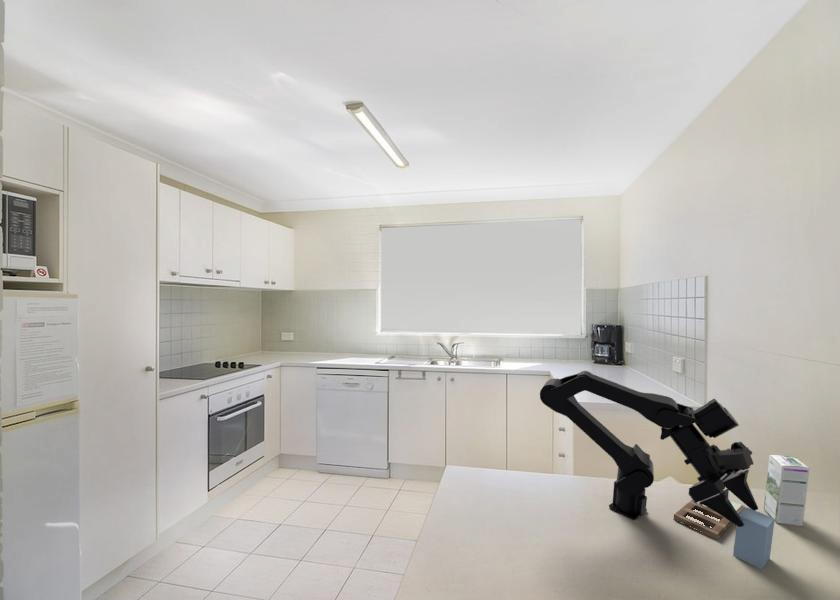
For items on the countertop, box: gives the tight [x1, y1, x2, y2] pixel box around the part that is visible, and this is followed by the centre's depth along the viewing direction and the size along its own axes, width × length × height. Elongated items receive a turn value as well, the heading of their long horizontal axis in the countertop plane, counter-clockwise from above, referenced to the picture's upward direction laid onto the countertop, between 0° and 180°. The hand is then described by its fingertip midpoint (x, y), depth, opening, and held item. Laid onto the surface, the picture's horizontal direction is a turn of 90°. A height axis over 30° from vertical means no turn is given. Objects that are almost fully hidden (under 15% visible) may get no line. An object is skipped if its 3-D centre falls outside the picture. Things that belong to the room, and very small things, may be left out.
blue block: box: [732, 506, 775, 570], centre depth 92 cm, size 5×5×9 cm
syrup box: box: [763, 454, 810, 527], centre depth 106 cm, size 6×6×14 cm
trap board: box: [673, 499, 746, 540], centre depth 107 cm, size 9×18×1 cm, turn 128°
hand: (749, 517), depth 93 cm, fingers open, 9 cm apart
